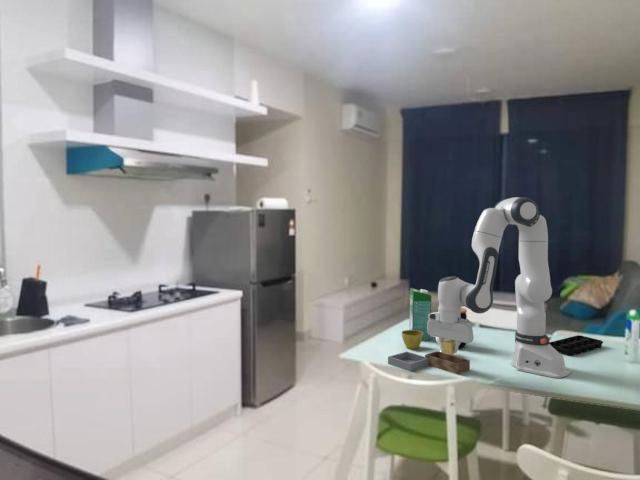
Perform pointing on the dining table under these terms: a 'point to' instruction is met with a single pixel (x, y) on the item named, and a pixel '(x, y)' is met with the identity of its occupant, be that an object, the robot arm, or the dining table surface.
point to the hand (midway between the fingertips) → (449, 349)
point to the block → (449, 347)
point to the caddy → (448, 362)
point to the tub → (408, 361)
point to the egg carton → (575, 345)
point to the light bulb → (440, 343)
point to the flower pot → (412, 338)
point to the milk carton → (420, 311)
